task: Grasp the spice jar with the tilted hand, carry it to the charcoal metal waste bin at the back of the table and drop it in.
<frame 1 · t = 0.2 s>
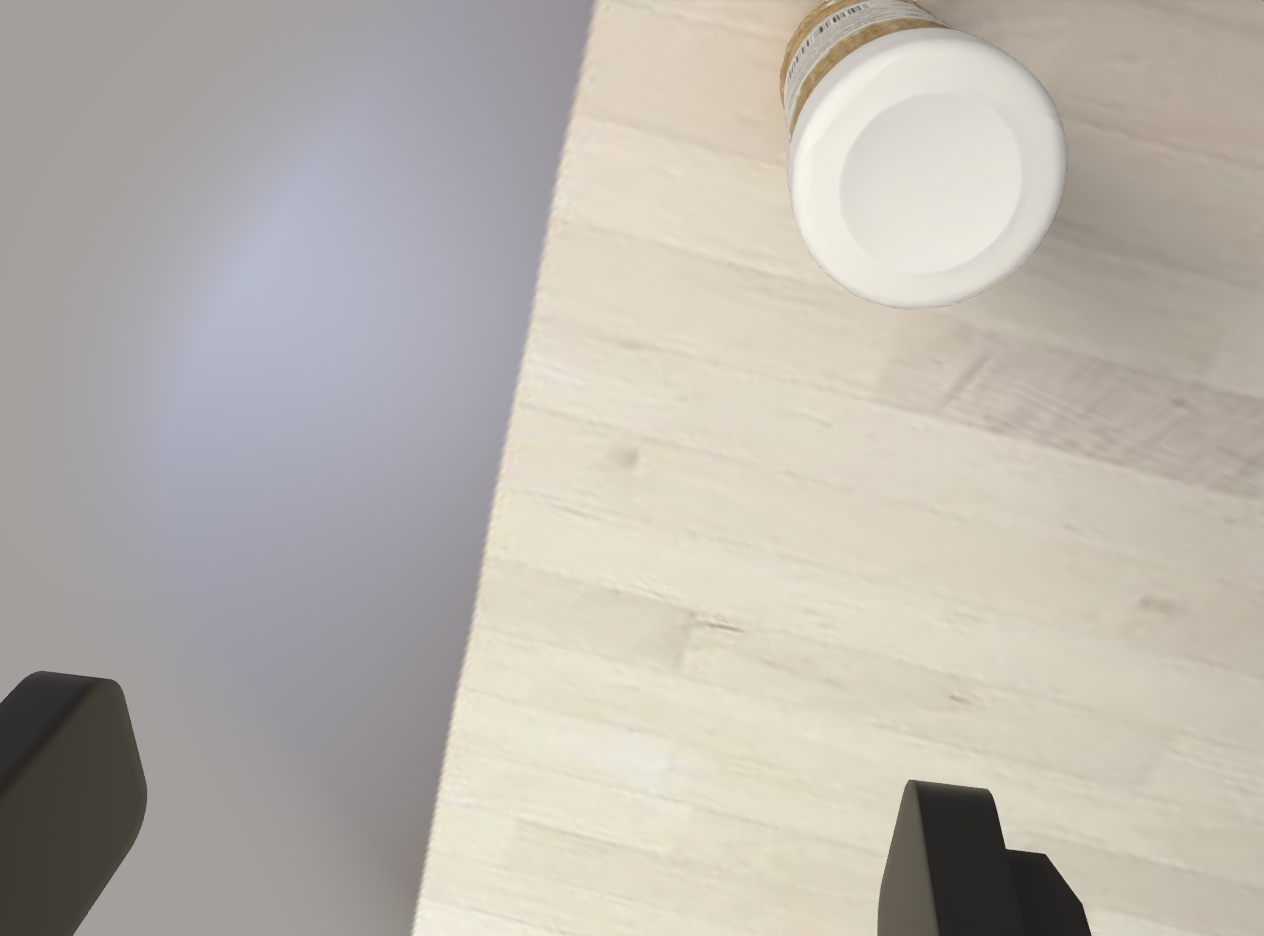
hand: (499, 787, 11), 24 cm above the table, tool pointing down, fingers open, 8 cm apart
spice jar: (861, 73, 29), on the table
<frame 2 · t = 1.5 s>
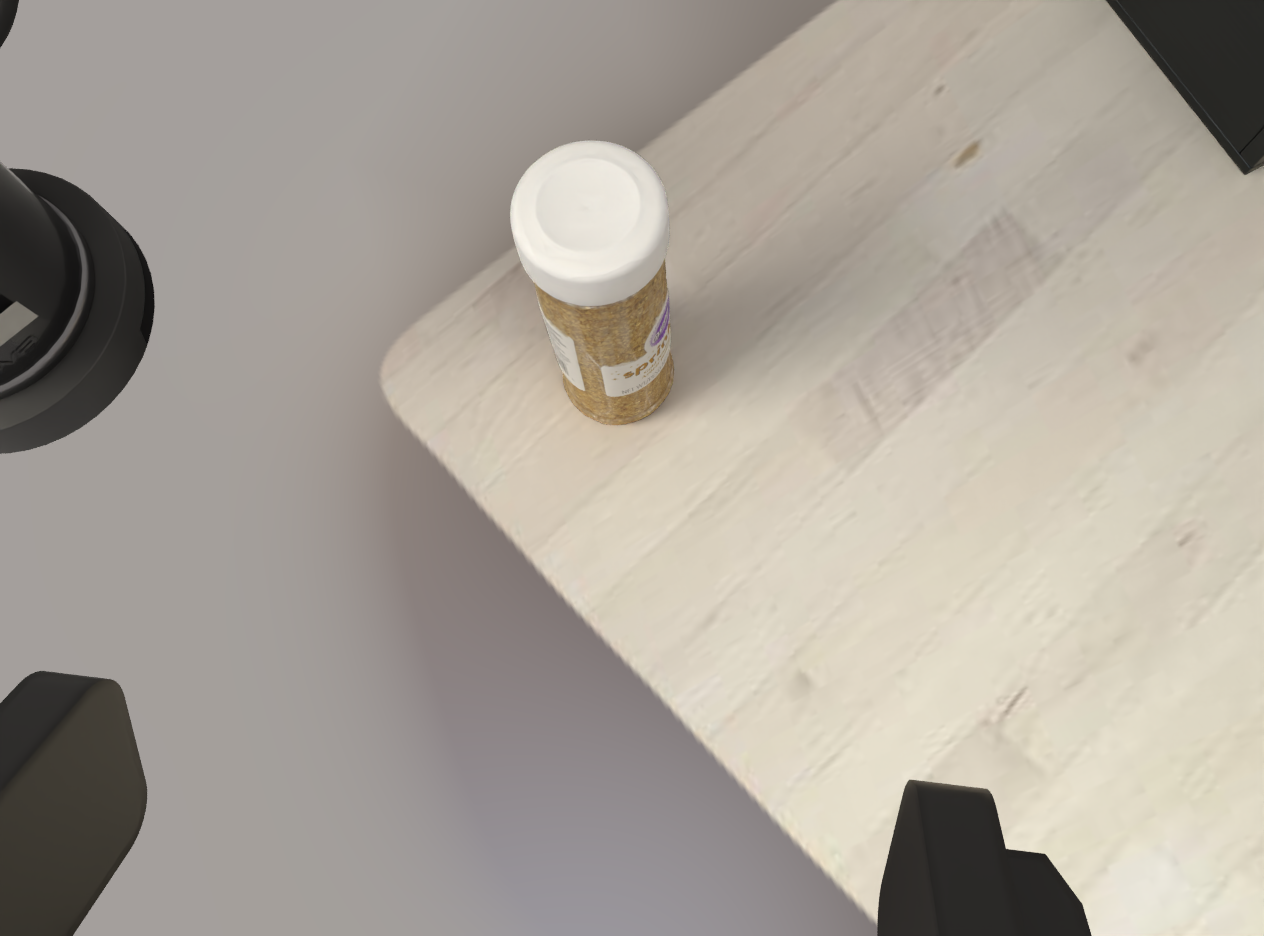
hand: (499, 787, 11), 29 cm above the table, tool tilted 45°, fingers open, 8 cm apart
spice jar: (618, 375, 43), on the table
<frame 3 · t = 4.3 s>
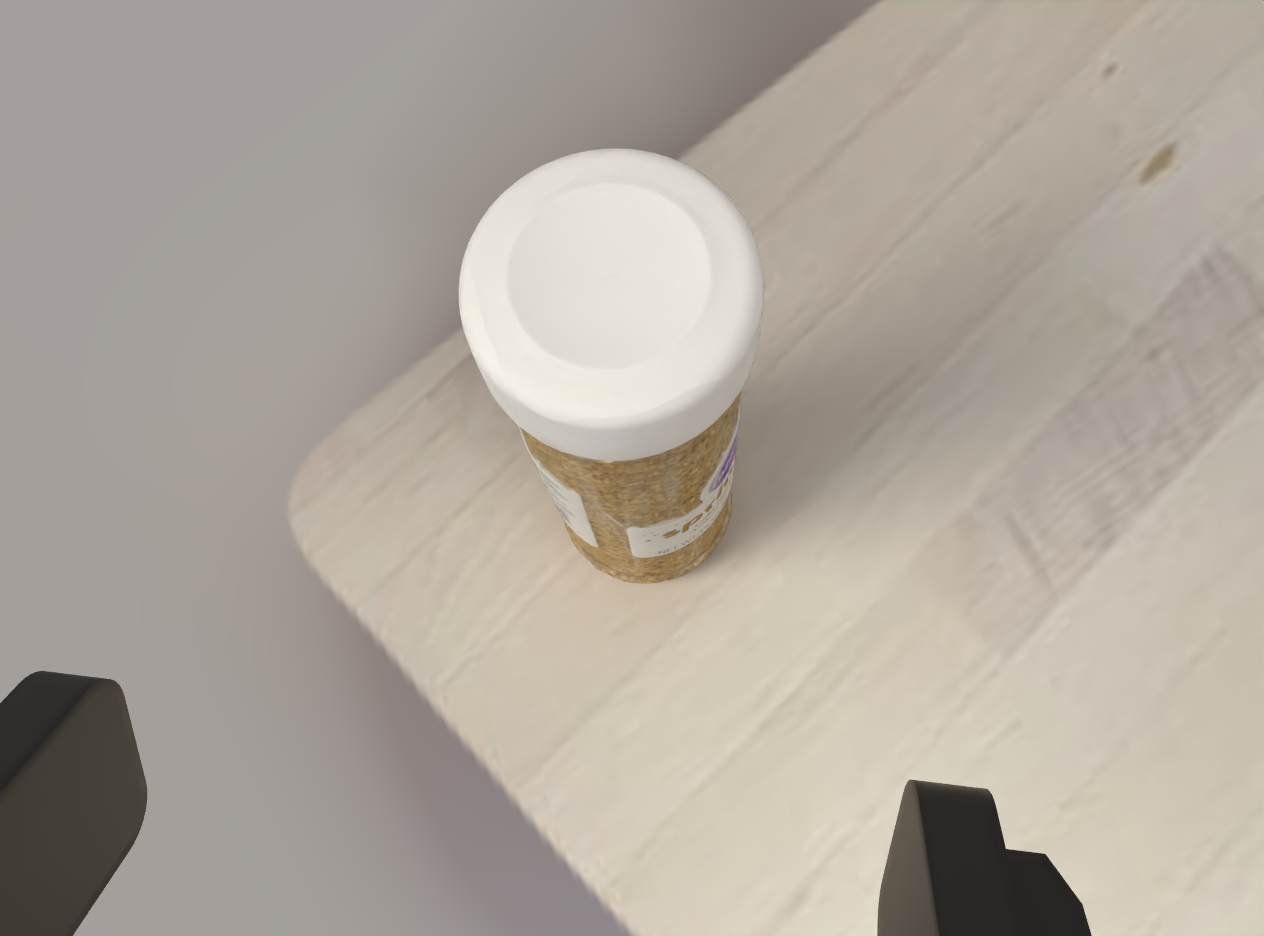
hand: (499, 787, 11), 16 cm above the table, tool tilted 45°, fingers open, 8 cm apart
spice jar: (646, 502, 28), on the table
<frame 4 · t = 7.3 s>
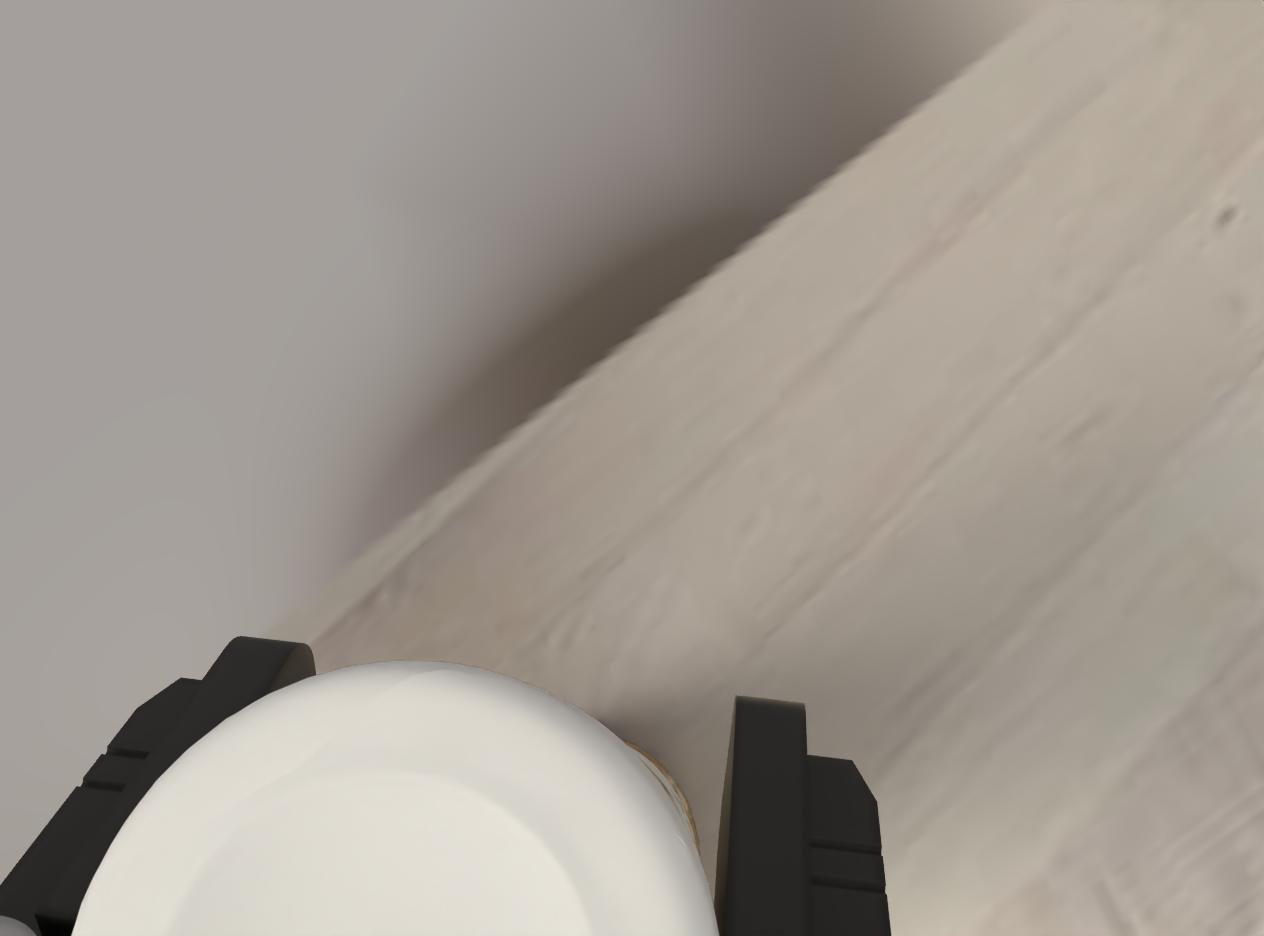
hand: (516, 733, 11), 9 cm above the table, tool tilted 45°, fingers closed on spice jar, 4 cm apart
spice jar: (579, 850, 20), on the table, touching gripper
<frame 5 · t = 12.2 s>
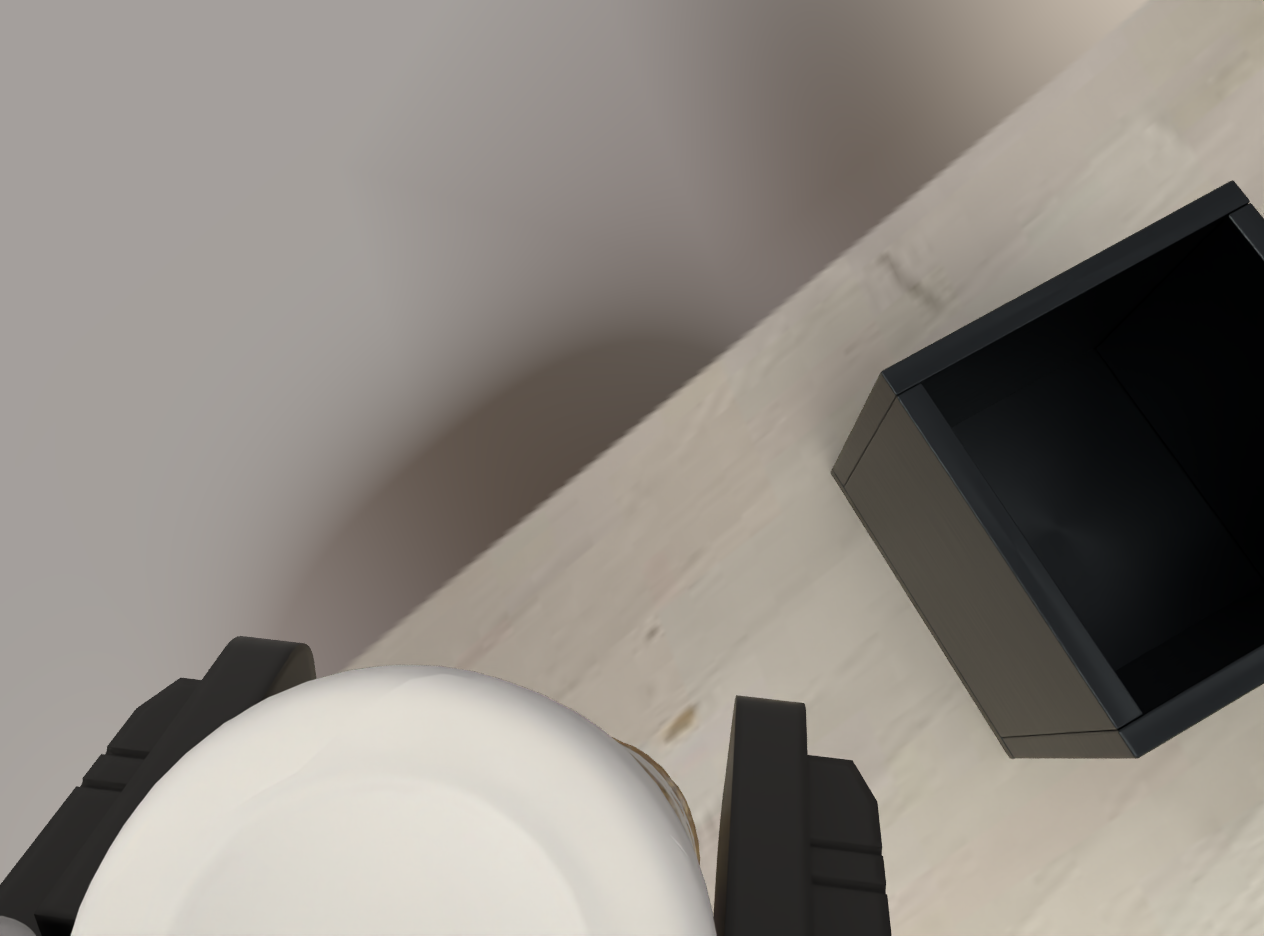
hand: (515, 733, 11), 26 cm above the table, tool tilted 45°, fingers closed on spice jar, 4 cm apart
spice jar: (579, 852, 20), point 17 cm above the table, touching gripper
bin: (1054, 531, 38), on the table
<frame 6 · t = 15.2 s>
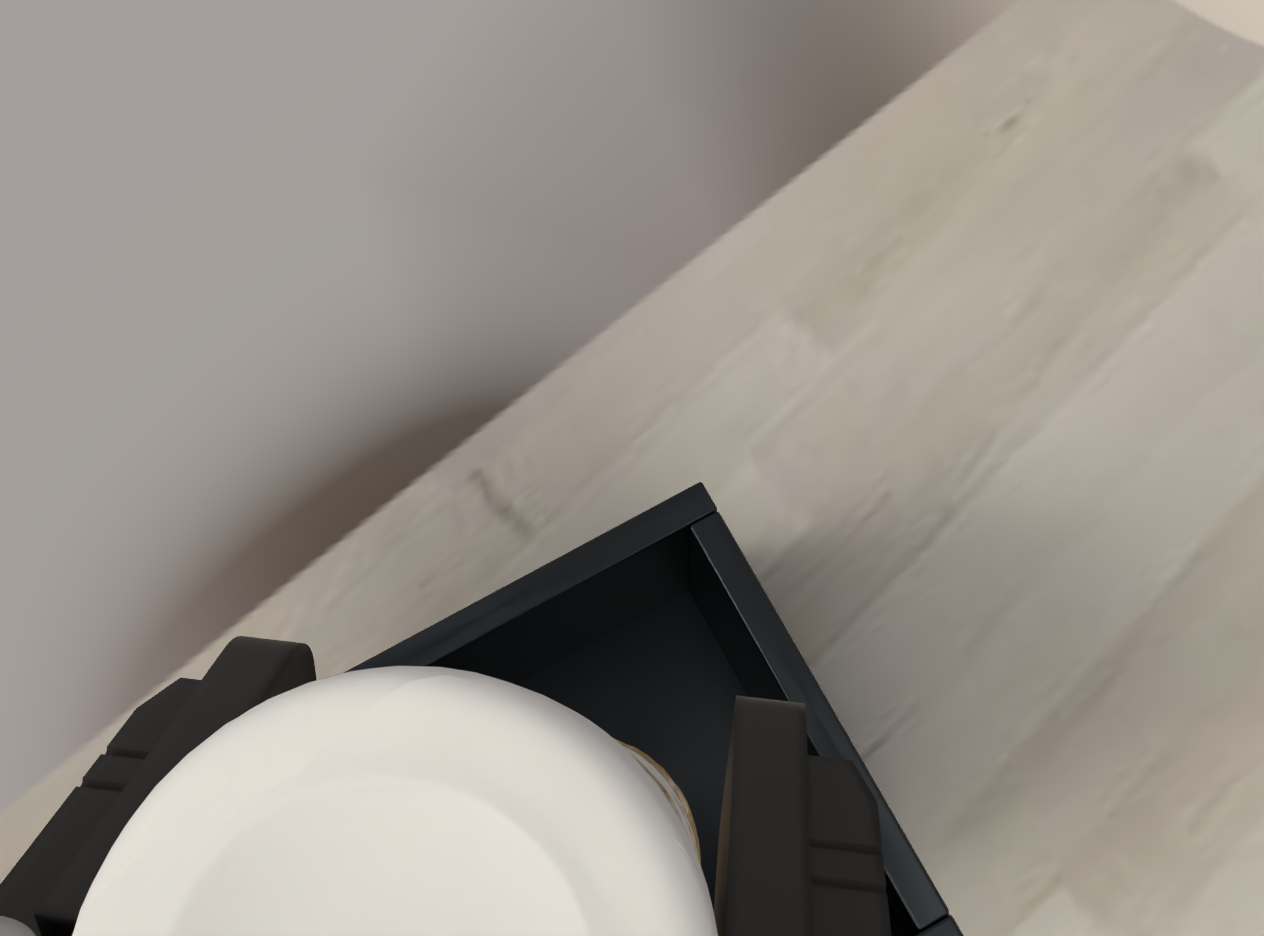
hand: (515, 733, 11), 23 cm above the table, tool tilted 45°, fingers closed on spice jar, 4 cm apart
spice jar: (580, 853, 20), point 14 cm above the table, touching gripper
bin: (626, 807, 33), on the table
when the fingers open (16 cm above the table, at t = 17.6 s): spice jar drops 6 cm, resting on bin.
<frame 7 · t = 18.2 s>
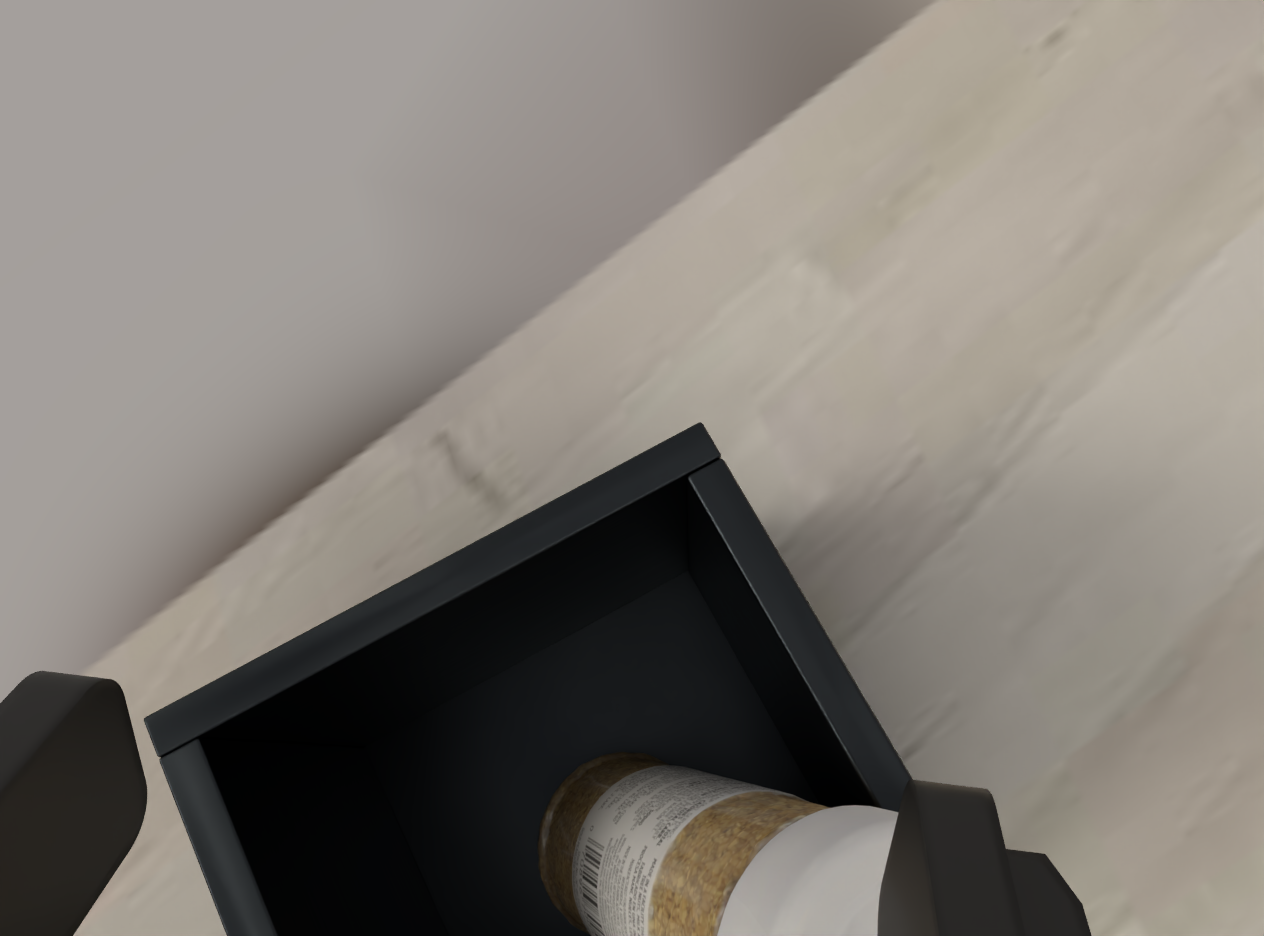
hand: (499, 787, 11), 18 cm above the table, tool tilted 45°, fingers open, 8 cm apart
spice jar: (616, 838, 27), point 1 cm above the table, touching bin
bin: (615, 825, 28), on the table
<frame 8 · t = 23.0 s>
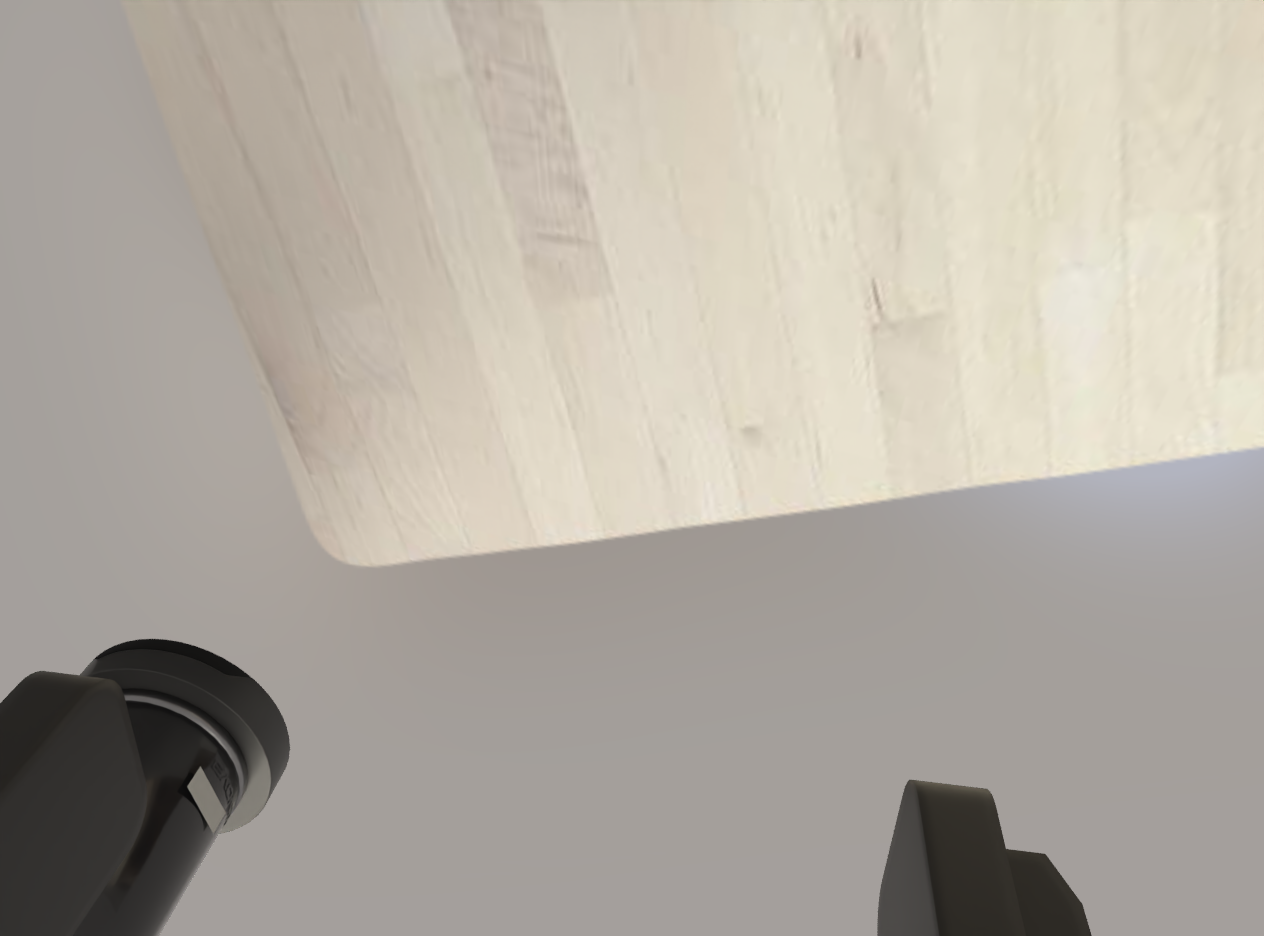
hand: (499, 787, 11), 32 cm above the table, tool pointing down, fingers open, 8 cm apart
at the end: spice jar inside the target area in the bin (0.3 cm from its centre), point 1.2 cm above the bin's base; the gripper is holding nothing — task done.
